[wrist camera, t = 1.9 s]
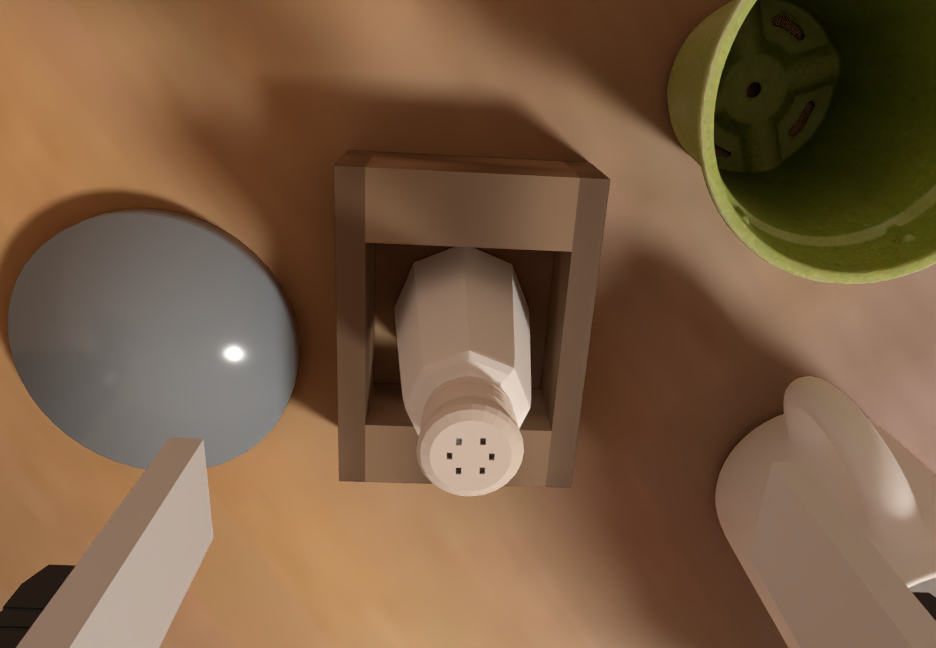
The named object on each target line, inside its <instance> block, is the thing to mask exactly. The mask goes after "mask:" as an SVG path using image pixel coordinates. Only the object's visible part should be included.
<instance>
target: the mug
mask: <svg viewBox="0 0 936 648" xmlns="http://www.w3.org/2000/svg"><path fill="white" fill-rule="evenodd" d="M783 409H784V414H782V415H779V416H776V417H774V418H772V419H770V420H768V421H766V422H764V423H763V424H761V425H760V426H758V427H757V428H755V429H754V430H752V431H751V432H750V433H749V434H747V435H746V436H745V437H744V438H743V439H742V440H741V441H740V442H739V443H738V444H737V445H736V446H735V448H734V449H733V450H732V452H731V453H730V454H729V456H728V457H727V459H726V461H725V462H724V464H723V466H722V469H721V471H720V474H719V477H718V481H717V485H716V493H715V506H716V511H717V516H718V519H719V522H720V525H721V527H722V530H723V532H724V534H725V536H726V538H727V540H728V542H729V544H730V546H731V547H732V549H733V551H734V553H735V554H736V556H737V558H738V560H739V562H740V563H741V565H742V567H743V569H744V570H745V572H746V574H747V576H748V577H749V579H750V581H751V583H752V584H753V586H754V588H755V590H756V592H757V593H758V595H759V597H760V599H761V600H762V602H763V604H764V606H765V607H766V609H767V611H768V613H769V615H770V616H771V618H772V620H773V622H774V623H775V625H776V627H777V629H778V630H779V632H780V634H781V636H782V637H783V639H784V641H785V643H786V645H787V646H788V648H800V646H799V645H798V643H797V641H796V639H795V637H794V636H793V634H792V632H791V630H790V629H789V627H788V625H787V623H786V622H785V620H784V618H783V616H782V614H781V613H780V611H779V609H778V607H777V606H776V604H775V602H774V600H773V599H772V597H771V595H770V593H769V591H768V590H767V588H766V586H765V584H764V583H763V581H762V579H761V577H760V576H759V574H758V572H757V570H756V568H755V567H754V565H753V563H752V561H751V560H750V558H749V554H750V550H751V546H752V542H753V538H754V534H755V530H756V526H757V522H758V518H759V514H760V510H761V506H762V502H763V498H764V494H765V489H766V485H767V481H768V477H769V473H770V469H771V465H772V461H778V462H803V463H806V465H807V466H808V467H809V468H810V469H811V471H812V472H813V473H814V474H815V475H816V477H817V478H818V479H819V480H820V482H821V483H822V484H823V485H824V486H825V488H826V489H827V490H828V491H829V492H830V494H831V495H832V496H833V497H834V499H835V500H836V501H837V502H838V503H839V505H840V506H841V507H842V508H843V509H844V511H845V512H846V513H847V514H848V515H849V517H850V518H851V519H852V520H853V522H854V523H855V524H856V525H857V526H858V528H859V529H860V530H861V531H862V532H863V534H864V535H865V536H866V537H867V538H868V540H869V541H870V542H871V543H872V545H873V546H874V547H875V548H876V549H877V551H878V552H879V553H880V554H881V555H882V557H883V558H884V559H885V560H886V561H887V563H888V564H889V565H890V566H891V568H892V569H893V570H894V571H895V572H896V574H897V575H898V576H899V577H900V578H901V580H902V581H903V582H904V583H905V584H906V586H907V587H908V588H909V589H910V591H911V592H927V593H930V594H932V595H933V596H935V597H936V474H935V473H934V472H933V471H932V470H930V469H929V468H928V467H927V466H926V465H925V464H924V463H922V462H921V461H920V460H919V459H918V458H917V457H916V456H915V455H913V454H912V453H911V452H910V451H909V450H908V449H907V448H905V447H904V446H903V445H902V444H901V443H900V442H899V441H897V440H896V439H895V438H894V437H893V436H892V435H890V434H889V433H888V432H886V431H885V430H884V429H882V428H881V427H880V426H878V425H877V424H875V423H874V422H872V421H871V420H869V419H867V418H866V416H865V415H864V414H863V413H862V412H861V410H860V409H859V408H858V407H857V406H856V405H855V404H854V403H853V402H852V401H851V400H850V399H849V398H848V397H847V396H846V395H845V394H844V393H842V392H841V391H840V390H839V389H837V388H836V387H835V386H833V385H832V384H830V383H829V382H827V381H825V380H823V379H820V378H817V377H812V376H807V377H801V378H797V379H796V380H794V381H792V382H791V383H790V385H789V386H788V387H787V389H786V390H785V394H784V401H783Z"/></svg>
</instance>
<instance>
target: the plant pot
mask: <svg viewBox="0 0 936 648" xmlns="http://www.w3.org/2000/svg"><path fill="white" fill-rule="evenodd" d="M775 16H786V17H788V18H789V19H791V20H792V21H793V22H795V23H797V24H798V25H799V26H800V27H801V29H802V30H803V32H804V38H803V39H802V40H797V39H796V38H795V37H794V36H792V35H791V34H790V33H789V32H788V31H786V30H785V29H783V28H781V27H778V26H775V25H774V24H773V23H772V18H773V17H775ZM753 82H757V83H759V84H760V86H761V90H760V92H759V94H758V95H757V96H756V97H752V98H751V97H749V96H747V89H748V87H749V85H751V84H752V83H753ZM667 99H668V107H669V114H670V119H671V123H672V127H673V130H674V133H675V135H676V137H677V139H678V141H679V142H680V144H681V146H682V147H683V148H684V149H685V150H686V152H687V153H688V154H689V155H690V156H691V157H692V158H693V159H694V160H695V161H696V162H697V163H698V164H699V165H700V166H701V168H702V172H703V176H704V180H705V183H706V185H707V188H708V191H709V193H710V196H711V198H712V201H713V203H714V205H715V207H716V209H717V210H718V212H719V214H720V215H721V217H722V218H723V220H724V221H725V223H726V224H727V225H728V227H729V228H730V229H731V230H732V232H733V233H734V234H735V235H736V236H737V237H738V238H739V239H740V240H741V241H742V242H743V243H744V244H745V245H746V246H747V247H748V248H750V249H751V250H752V251H753V252H754V253H756V254H757V255H758V256H759V257H761V258H762V259H764V260H766V261H767V262H769V263H770V264H772V265H774V266H776V267H777V268H779V269H782V270H784V271H786V272H789V273H791V274H794V275H796V276H799V277H802V278H806V279H810V280H814V281H819V282H827V283H840V284H863V283H872V282H878V281H885V280H890V279H894V278H898V277H902V276H905V275H908V274H911V273H914V272H917V271H920V270H923V269H925V268H927V267H929V266H931V265H933V264H935V263H936V0H732V1H731V2H729V3H727V4H726V5H724V6H722V7H721V8H719V9H717V10H716V11H714V12H713V13H711V14H710V15H709V16H707V17H706V18H705V19H704V20H703V21H702V22H701V23H700V24H699V25H698V26H697V27H696V28H695V29H694V30H693V31H692V32H691V33H690V35H689V36H688V37H687V39H686V40H685V42H684V43H683V45H682V46H681V48H680V50H679V52H678V54H677V56H676V59H675V61H674V64H673V66H672V69H671V73H670V76H669V81H668V87H667ZM809 101H813V104H814V109H813V111H812V113H811V114H810V116H809V118H808V119H807V122H806V124H805V126H804V128H803V129H802V130H801V131H800V132H799V133H798V134H797V135H795V136H790V135H789V130H790V129H791V128H792V127H793V125H794V124H795V122H796V121H797V120H798V119H799V117H800V115H801V114H802V113H803V110H804V109H805V108H806V105H807V103H808V102H809ZM714 144H715V145H717V146H719V147H720V148H723V149H725V150H726V151H729V152H731V156H727V157H721V156H716V155H715V148H714Z"/></svg>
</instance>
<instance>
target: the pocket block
mask: <svg viewBox="0 0 936 648" xmlns="http://www.w3.org/2000/svg"><path fill="white" fill-rule="evenodd" d="M609 185H610V179H609V178H608V177H607V176H606V175H604V174H603V173H602V172H601V171H599V170H598V169H597V168H596V167H595V166H593V165H592V164H591V163H587V162H567V161H547V160H527V159H507V158H488V157H468V156H448V155H428V154H408V153H389V152H369V151H349V150H348V151H347V152H346V153H345V154H344V155H343V156H342V158H341V159H340V160H339V161H338V162H337V163H336V164H335V165H334V200H335V262H336V324H337V386H338V448H339V481H354V482H388V483H423V484H432V483H431V482H430V481H429V479H428V478H427V477H426V476H425V475H424V474H423V472H422V470H421V468H420V466H419V464H418V458H417V452H416V450H417V443H418V437H419V436H418V434H417V432H416V430H415V428H414V426H413V424H412V422H411V420H410V418H409V416H408V413H407V411H406V409H405V406H404V401H403V396H402V387H401V384H389V383H374V311H375V243H387V244H410V245H432V246H455V247H477V248H500V249H522V250H545V251H554V260H553V269H552V279H551V289H550V299H549V309H548V318H547V328H546V338H545V348H544V358H543V367H542V377H541V387H540V389H531V406H530V410H529V412H528V414H527V415H526V417H525V419H524V421H523V423H522V425H521V427H520V429H519V430H520V433H521V435H522V438H523V446H524V454H523V459H522V463H521V465H520V467H519V469H518V471H517V473H516V474H515V475H514V477H513V478H512V479H511V480H510V481H509V482H508V483H507V484H505V485H504V486H526V487H561V488H571V484H572V476H573V468H574V460H575V452H576V444H577V436H578V429H579V421H580V413H581V405H582V397H583V389H584V382H585V374H586V366H587V358H588V350H589V342H590V334H591V327H592V319H593V311H594V303H595V295H596V287H597V279H598V272H599V264H600V256H601V248H602V240H603V232H604V225H605V217H606V209H607V201H608V193H609Z"/></svg>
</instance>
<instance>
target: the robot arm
mask: <svg viewBox="0 0 936 648" xmlns="http://www.w3.org/2000/svg"><path fill="white" fill-rule="evenodd" d="M212 540H213V530H212V519H211V509H210V499H209V489H208V479H207V468H206V458H205V448H204V439H194V438H169V439H168V440H167V442H166V443H165V444H164V446H163V447H162V448H161V450H160V451H159V453H158V454H157V455H156V457H155V458H154V459H153V461H152V462H151V464H150V465H149V466H148V468H147V469H146V470H145V472H144V473H143V474H142V476H141V477H140V479H139V480H138V481H137V483H136V484H135V485H134V487H133V488H132V490H131V491H130V492H129V494H128V495H127V496H126V498H125V499H124V500H123V502H122V503H121V505H120V506H119V507H118V509H117V510H116V511H115V513H114V514H113V516H112V517H111V518H110V520H109V521H108V522H107V524H106V525H105V526H104V528H103V529H102V531H101V532H100V533H99V535H98V536H97V537H96V539H95V540H94V542H93V543H92V544H91V546H90V547H89V548H88V550H87V551H86V552H85V554H84V555H83V557H82V558H81V559H80V561H79V562H78V563H77V565H76V566H71V565H48V566H46V567H45V568H43V569H42V570H41V571H39V572H38V573H36V574H35V575H34V576H32V577H31V578H29V579H28V580H27V581H25V582H24V583H22V584H21V585H20V587H19V588H18V589H17V590H16V592H15V593H14V594H13V595H12V597H11V598H10V599H9V600H8V602H7V603H6V604H5V605H4V606H3V610H2V611H0V648H159V647H160V645H161V643H162V641H163V639H164V637H165V635H166V633H167V631H168V629H169V626H170V624H171V622H172V620H173V618H174V616H175V614H176V612H177V610H178V608H179V606H180V604H181V602H182V600H183V598H184V596H185V594H186V592H187V590H188V588H189V586H190V584H191V582H192V580H193V578H194V576H195V574H196V572H197V570H198V568H199V566H200V564H201V562H202V560H203V558H204V556H205V554H206V552H207V550H208V548H209V546H210V544H211V542H212ZM749 558H750V560H751V561H752V563H753V565H754V567H755V568H756V570H757V572H758V574H759V576H760V577H761V579H762V581H763V583H764V584H765V586H766V588H767V590H768V591H769V593H770V595H771V597H772V599H773V600H774V602H775V604H776V606H777V607H778V609H779V611H780V613H781V614H782V616H783V618H784V620H785V622H786V623H787V625H788V627H789V629H790V630H791V632H792V634H793V636H794V637H795V639H796V641H797V643H798V645H799V646H800V648H936V597H935V596H933V595H932V594H930V593H927V592H911V591H910V589H909V588H908V587H907V586H906V584H905V583H904V582H903V581H902V580H901V578H900V577H899V576H898V575H897V574H896V572H895V571H894V570H893V569H892V568H891V566H890V565H889V564H888V563H887V561H886V560H885V559H884V558H883V557H882V555H881V554H880V553H879V552H878V551H877V549H876V548H875V547H874V546H873V545H872V543H871V542H870V541H869V540H868V538H867V537H866V536H865V535H864V534H863V532H862V531H861V530H860V529H859V528H858V526H857V525H856V524H855V523H854V522H853V520H852V519H851V518H850V517H849V515H848V514H847V513H846V512H845V511H844V509H843V508H842V507H841V506H840V505H839V503H838V502H837V501H836V500H835V499H834V497H833V496H832V495H831V494H830V492H829V491H828V490H827V489H826V488H825V486H824V485H823V484H822V483H821V482H820V480H819V479H818V478H817V477H816V475H815V474H814V473H813V472H812V471H811V469H810V468H809V467H808V466H807V465H806V463H803V462H778V461H772V465H771V469H770V473H769V477H768V481H767V485H766V489H765V494H764V498H763V502H762V506H761V510H760V514H759V518H758V522H757V526H756V530H755V534H754V538H753V542H752V546H751V550H750V554H749Z"/></svg>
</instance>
